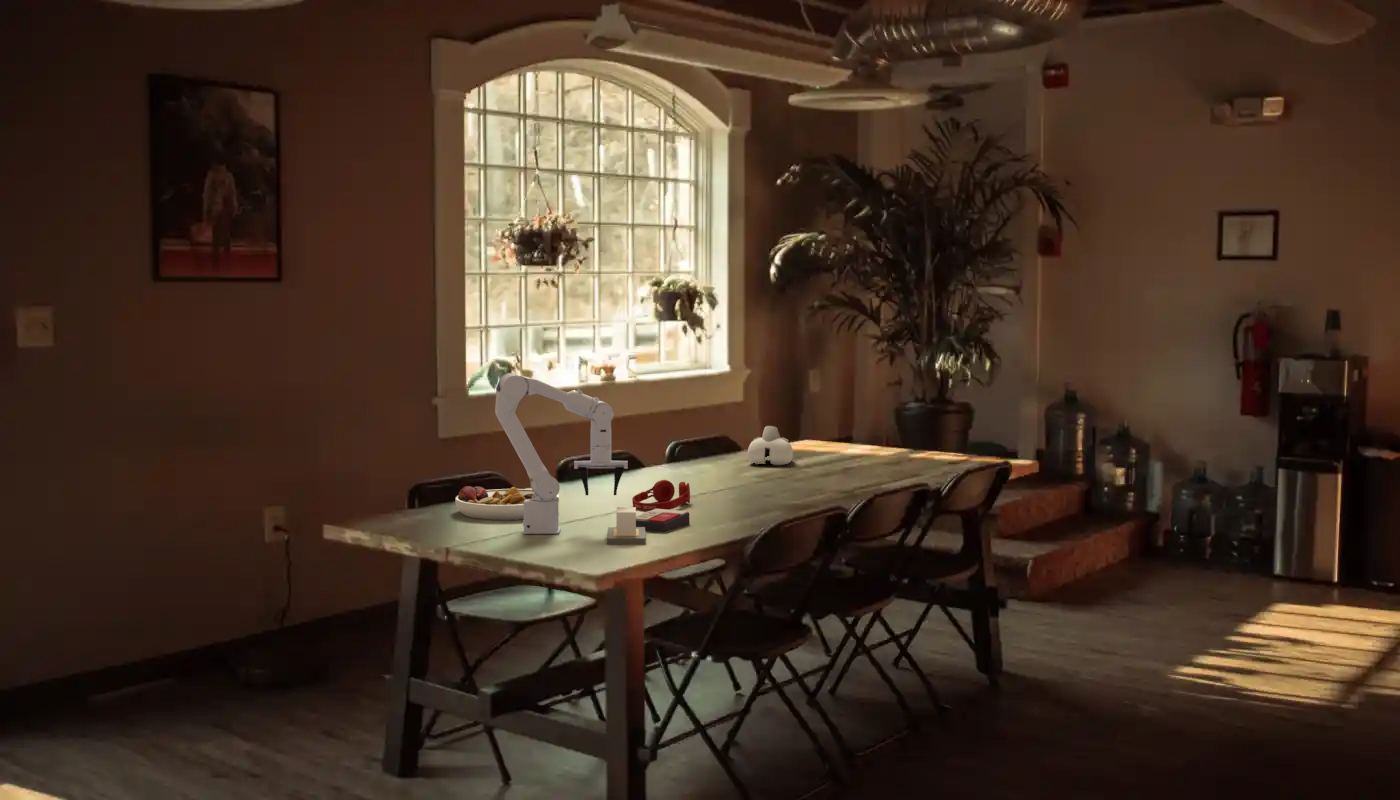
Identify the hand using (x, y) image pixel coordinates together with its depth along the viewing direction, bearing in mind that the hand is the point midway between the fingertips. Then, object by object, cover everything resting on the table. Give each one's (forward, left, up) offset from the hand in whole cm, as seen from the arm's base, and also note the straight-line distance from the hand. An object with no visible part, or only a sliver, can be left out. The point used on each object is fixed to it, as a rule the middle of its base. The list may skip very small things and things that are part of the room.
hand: (601, 494), depth 372 cm
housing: (+7, -14, -8) cm, 17 cm away
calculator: (+16, +3, -10) cm, 19 cm away
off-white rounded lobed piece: (+60, +134, -10) cm, 147 cm away
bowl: (-28, +27, -10) cm, 40 cm away
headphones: (+17, +37, -10) cm, 42 cm away
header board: (+7, -14, -9) cm, 18 cm away
